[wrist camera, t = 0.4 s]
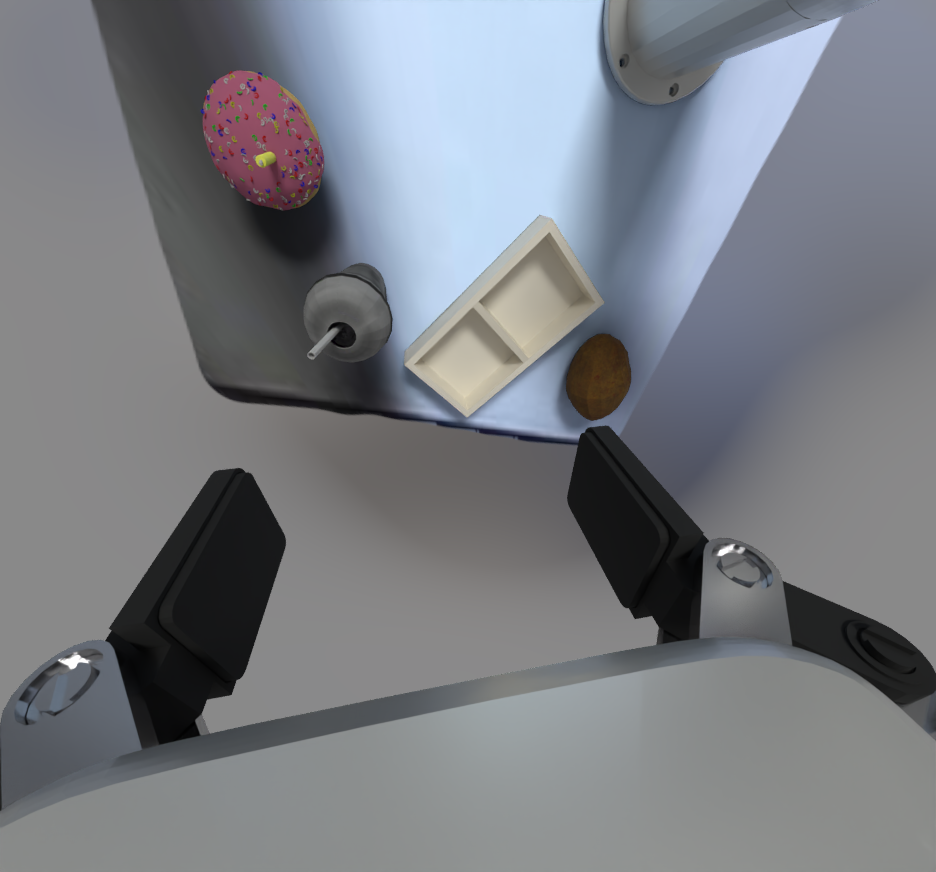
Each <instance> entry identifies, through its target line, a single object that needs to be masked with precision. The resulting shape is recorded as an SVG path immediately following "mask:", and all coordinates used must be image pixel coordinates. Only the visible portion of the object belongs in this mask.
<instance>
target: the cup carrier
mask: <svg viewBox="0 0 936 872" xmlns="http://www.w3.org/2000/svg"><path fill="white" fill-rule="evenodd" d="M603 304H604V301H603V299H602V298H601V296H600V295H599V293H598V291H597V290H596V288H595V287H594V285H593V283H592V282H591V280H590V279H589V277H588V275H587V274H586V272H585V271H584V269H583V267H582V266H581V264H580V263H579V261H578V259H577V258H576V256H575V255H574V253H573V251H572V250H571V248H570V247H569V245H568V243H567V242H566V240H565V239H564V237H563V235H562V234H561V232H560V231H559V229H558V227H557V226H556V224H555V223H554V221H553V219H552V218H549V217H546V216H542V215H539V216H538V217H537V218H536V219H535V220H534V221H533V222H532V223H531V224H530V225H529V226H528V227H527V228H526V229H525V230H524V231H523V232H522V233H521V234H520V235H519V236H518V237H517V238H516V239H515V240H514V241H513V242H512V243H511V244H510V245H509V246H508V247H507V248H506V249H505V251H504V252H503V253H502V254H501V255H500V256H499V257H498V258H497V259H496V260H495V261H494V262H493V263H492V264H491V265H490V266H489V267H488V268H487V269H486V270H485V271H484V272H483V273H482V274H481V275H480V276H479V277H478V278H477V279H476V280H475V281H474V282H473V283H472V284H471V285H470V286H469V287H468V288H467V289H466V290H465V291H464V292H463V293H462V294H461V295H460V296H459V297H458V298H457V299H456V300H455V301H454V302H453V303H452V304H451V305H450V306H449V307H448V308H447V309H446V310H445V311H444V312H443V313H442V314H441V315H440V316H439V317H438V318H437V319H436V320H435V321H434V322H433V323H432V324H431V325H430V326H429V327H428V328H427V329H426V330H425V331H424V332H423V333H422V334H421V335H420V336H419V337H418V338H417V339H416V340H415V341H414V343H413V344H412V345H411V346H410V347H409V348H408V349H407V350H406V351H405V358H404V365H405V366H406V367H407V368H409V369H410V370H411V371H412V372H413V373H414V374H416V375H417V376H418V377H419V378H420V379H422V380H423V381H424V382H425V383H426V384H428V385H429V386H430V387H431V388H432V389H434V390H435V391H436V392H437V393H438V394H440V395H441V396H442V397H443V398H444V399H446V400H447V401H448V402H449V403H450V404H451V405H453V406H454V407H455V408H456V409H457V410H459V411H460V412H461V413H462V414H463V415H465V416H466V417H469V416H470V415H471V414H472V413H473V412H475V411H476V410H477V409H478V408H479V407H481V406H482V405H483V404H484V403H485V402H487V401H488V400H489V399H490V398H491V397H493V396H494V395H495V394H496V393H497V392H498V391H500V390H501V389H502V388H503V387H504V386H506V385H507V384H508V383H509V382H510V381H512V380H513V379H514V378H515V377H516V376H518V375H519V374H520V373H521V372H522V371H524V370H525V369H526V368H527V367H528V366H530V365H531V364H532V363H533V362H534V361H536V360H537V359H538V358H539V357H540V356H542V355H543V354H544V353H545V352H546V351H548V350H549V349H550V348H551V347H552V346H554V345H555V344H556V343H557V342H558V341H560V340H561V339H562V338H563V337H564V336H565V335H567V334H568V333H569V332H570V331H571V330H573V329H574V328H575V327H576V326H577V325H579V324H580V323H581V322H582V321H583V320H585V319H586V318H587V317H588V316H589V315H591V314H592V313H593V312H594V311H595V310H597V309H598V308H599V307H600V306H601V305H603Z"/></svg>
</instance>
